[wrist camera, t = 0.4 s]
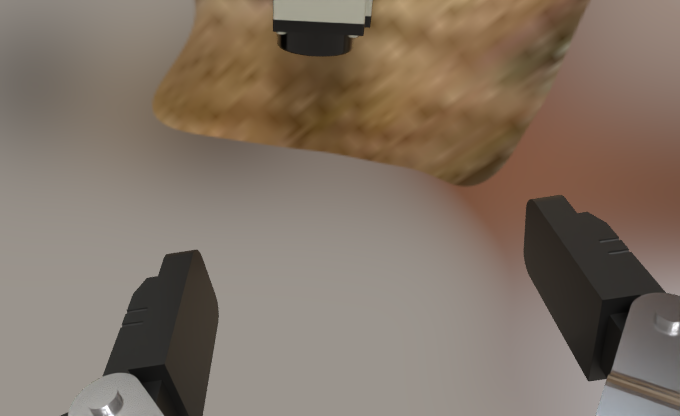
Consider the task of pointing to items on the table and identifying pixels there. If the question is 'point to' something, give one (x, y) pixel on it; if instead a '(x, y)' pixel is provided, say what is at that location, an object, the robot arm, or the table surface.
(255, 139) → the table surface
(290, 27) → the pneumatic valve
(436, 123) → the table surface
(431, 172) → the table surface
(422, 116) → the table surface
